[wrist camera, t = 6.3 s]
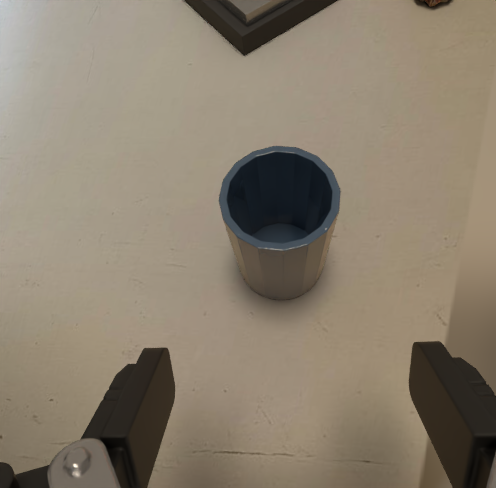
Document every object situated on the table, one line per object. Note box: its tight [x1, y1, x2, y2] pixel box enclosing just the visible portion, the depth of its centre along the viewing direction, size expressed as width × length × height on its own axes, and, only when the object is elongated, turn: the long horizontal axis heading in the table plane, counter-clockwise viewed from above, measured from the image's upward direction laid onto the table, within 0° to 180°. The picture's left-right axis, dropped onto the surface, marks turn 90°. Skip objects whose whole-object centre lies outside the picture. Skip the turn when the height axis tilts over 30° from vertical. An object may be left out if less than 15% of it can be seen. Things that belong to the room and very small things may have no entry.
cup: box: [219, 146, 341, 300], centre depth 23 cm, size 6×6×9 cm
